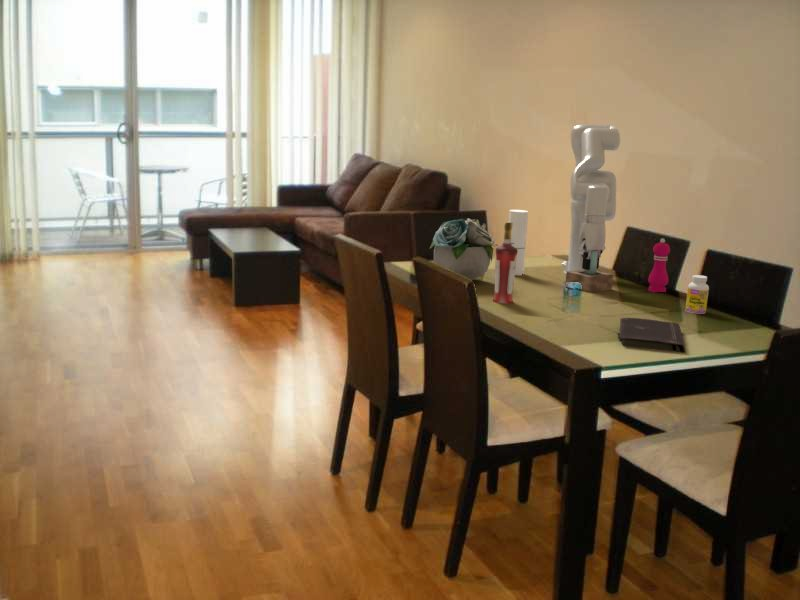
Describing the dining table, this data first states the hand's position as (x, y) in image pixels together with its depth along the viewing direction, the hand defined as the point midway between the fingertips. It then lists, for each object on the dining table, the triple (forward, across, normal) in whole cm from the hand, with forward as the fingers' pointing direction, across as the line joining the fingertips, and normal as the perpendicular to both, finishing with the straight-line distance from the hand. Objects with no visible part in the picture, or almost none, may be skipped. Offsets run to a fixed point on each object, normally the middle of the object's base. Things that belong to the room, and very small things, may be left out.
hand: (590, 268), depth 337 cm
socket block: (+8, 0, 0) cm, 8 cm away
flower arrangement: (+8, +36, -31) cm, 48 cm away
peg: (+3, 0, 0) cm, 3 cm away
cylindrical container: (+8, +5, -33) cm, 34 cm away
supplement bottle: (+8, -2, +44) cm, 45 cm away
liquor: (+8, +47, +2) cm, 48 cm away
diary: (+9, +44, +59) cm, 74 cm away
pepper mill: (+8, -20, +16) cm, 27 cm away
